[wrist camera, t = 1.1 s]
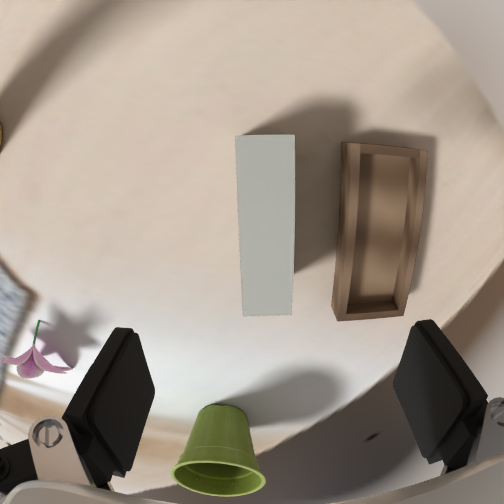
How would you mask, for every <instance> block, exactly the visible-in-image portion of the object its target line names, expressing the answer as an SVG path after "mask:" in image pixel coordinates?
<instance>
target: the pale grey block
mask: <svg viewBox="0 0 504 504" xmlns="http://www.w3.org/2000/svg"><path fill="white" fill-rule="evenodd" d="M235 147H236V174H237V200H238V224H239V246H240V268H241V288H242V308H243V316H280V315H292V303H293V276H294V239H295V135H238V136H235Z"/></svg>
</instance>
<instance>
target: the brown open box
mask: <svg viewBox="0 0 504 504" xmlns="http://www.w3.org/2000/svg"><path fill="white" fill-rule="evenodd" d="M426 169H427V151H425V150H419V149H412V148H404V147H395V146H385V145H374V144H362V143H348V142H342V149H341V189H340V211H339V227H338V242H337V254H336V266H335V276H334V286H333V295H332V304H331V306H332V309H333V311H334V314H335V316H336V319H337V321H350V320H364V319H376V318H387V317H397V316H403V315H404V311H405V307H406V303H407V299H408V294H409V290H410V285H411V281H412V276H413V271H414V265H415V260H416V254H417V248H418V242H419V236H420V229H421V221H422V213H423V205H424V195H425V184H426Z"/></svg>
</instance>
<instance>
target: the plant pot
mask: <svg viewBox="0 0 504 504" xmlns="http://www.w3.org/2000/svg"><path fill="white" fill-rule="evenodd" d="M170 474H171V477H172V478H173V479H174V481H176V482H177V483H178V484H180V485H181V486H183V487H185V488H187V489H190V490H192V491H195V492H199V493H202V494H207V495H214V496H240V495H246V494H249V493H253V492H255V491H257V490H259V489H260V488H262V487H263V486H264V485H265V482H266V480H265V477H264V475H263V474H262V473H261V472H260V469H259V465H258V462H257V461H256V458H255V454H254V449H253V444H252V439H251V435H250V430H249V424H248V420H247V417H246V415H245V413H244V412H243V411H241V410H240V409H238V408H236V407H233V406H230V405H224V406H220V405H210V406H207V407H205V408H203V409H202V410H201V411H200V412H199V414H198V417H197V419H196V422H195V424H194V427H193V430H192V432H191V435H190V437H189V440H188V442H187V445H186V448H185V450H184V453H183V454H182V455H181V457H180V459H179V461H178V464H176V465H175V466H174V467H173V468H172V469H171V471H170Z"/></svg>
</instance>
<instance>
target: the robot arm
mask: <svg viewBox="0 0 504 504" xmlns="http://www.w3.org/2000/svg"><path fill="white" fill-rule="evenodd" d="M393 387H394V390H395V392H396V394H397V397H398V399H399V401H400V403H401V406H402V408H403V410H404V412H405V415H406V417H407V420H408V422H409V425H410V427H411V429H412V432H413V434H414V437H415V439H416V442H417V444H418V447H419V449H420V452H421V454H422V456H423V457H424V458H427V460H428V463H429V464H432V463H435V462H438V461H441V460H443V462H444V467H443V469H442V472H441V475H440V476H439V477H436V478H433V479H430V480H427V481H424V482H421V483H418V484H415V485H411V486H408V487H405V488H401V489H398V490H394V491H390V492H386V493H382V494H378V495H373V496H369V497H364V498H360V499H354V500H348V501H342V502H337V503H329V504H504V398H501V397H499V398H494V399H492V400H491V401H490V402H489V403H488V402H487V400H486V399H487V397H488V395H487V393H486V392H485V390H484V389H483V387H482V386H481V384H480V383H479V381H478V380H477V379H476V377H475V376H474V374H473V373H472V371H471V370H470V369H469V367H468V366H467V364H466V363H465V362H464V360H463V359H462V357H461V356H460V355H459V353H458V352H457V351H456V349H455V348H454V347H453V345H452V344H451V343H450V341H449V340H448V339H447V337H446V336H445V335H444V334H443V332H442V331H441V330H440V328H439V327H438V326H437V325H436V323H435V322H434V321H433V320H431V319H429V320H422V321H417V322H416V323H415V325H414V326H412V327H411V330H410V333H409V336H408V339H407V343H406V346H405V349H404V352H403V355H402V358H401V361H400V364H399V366H398V370H397V372H396V375H395V377H394V381H393ZM154 395H155V388H154V384H153V381H152V378H151V375H150V372H149V369H148V366H147V362H146V359H145V356H144V352H143V349H142V345H141V342H140V338H139V335H138V334H137V333H134V331H133V329H131V328H120V327H116V328H115V329H114V330H113V332H112V333H111V335H110V337H109V338H108V340H107V341H106V343H105V345H104V346H103V348H102V350H101V351H100V353H99V354H98V356H97V358H96V359H95V361H94V363H93V364H92V365H91V367H90V368H89V370H88V372H87V374H86V375H85V377H84V379H83V380H82V382H81V384H80V386H79V387H78V389H77V391H76V393H75V394H74V396H73V398H72V400H71V402H70V403H69V405H68V407H67V409H66V411H65V413H64V414H63V416H62V418H60V417H57V416H53V415H48V416H43V417H41V418H39V419H37V420H36V421H35V422H34V423H33V424H32V426H31V427H30V430H29V433H28V438H29V439H27V440H24V441H21V442H18V443H16V444H13V445H10V446H7V447H5V448H2V449H0V504H176V503H169V502H163V501H157V500H151V499H146V498H140V497H135V496H131V495H126V494H122V493H118V492H115V491H114V489H113V487H112V485H111V483H110V481H111V478H112V475H115V476H119V477H123V478H124V477H125V474H126V471H130V470H131V468H132V466H133V462H134V459H135V456H136V452H137V449H138V446H139V442H140V439H141V436H142V433H143V430H144V426H145V423H146V420H147V417H148V414H149V411H150V408H151V405H152V402H153V399H154Z"/></svg>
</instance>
